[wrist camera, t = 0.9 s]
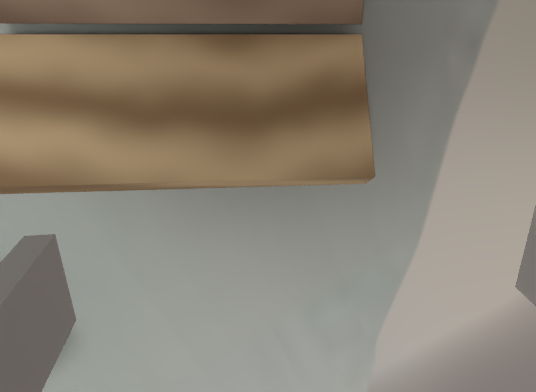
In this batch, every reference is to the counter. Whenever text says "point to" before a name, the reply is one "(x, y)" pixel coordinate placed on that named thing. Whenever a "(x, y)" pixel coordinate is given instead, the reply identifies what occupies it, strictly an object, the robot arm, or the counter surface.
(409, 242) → the counter surface
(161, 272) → the counter surface
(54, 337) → the robot arm
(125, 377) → the counter surface
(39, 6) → the walnut board
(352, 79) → the oak plank
